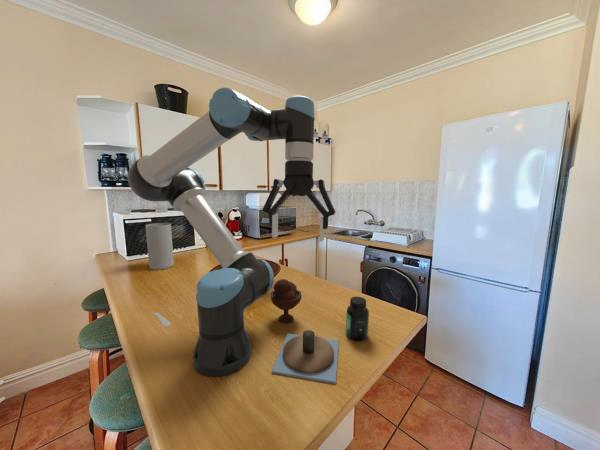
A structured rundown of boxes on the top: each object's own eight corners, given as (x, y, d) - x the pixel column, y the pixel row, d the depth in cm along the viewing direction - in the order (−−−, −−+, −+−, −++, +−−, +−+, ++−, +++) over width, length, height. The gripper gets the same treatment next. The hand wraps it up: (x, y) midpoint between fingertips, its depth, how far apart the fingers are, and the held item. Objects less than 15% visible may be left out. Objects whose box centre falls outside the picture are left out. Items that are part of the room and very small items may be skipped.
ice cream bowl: (298, 329, 79) (298, 286, 76) (266, 325, 81) (265, 283, 79) (304, 313, 89) (304, 274, 87) (275, 310, 91) (275, 272, 89)
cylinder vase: (154, 263, 145) (151, 223, 141) (176, 262, 147) (173, 222, 143) (145, 270, 133) (141, 226, 129) (169, 269, 135) (166, 226, 131)
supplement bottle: (346, 340, 73) (347, 304, 71) (345, 328, 80) (346, 294, 78) (369, 343, 72) (371, 305, 70) (366, 329, 79) (368, 295, 77)
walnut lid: (276, 368, 61) (276, 346, 60) (289, 335, 74) (289, 317, 73) (331, 377, 58) (332, 354, 57) (335, 341, 72) (335, 322, 71)
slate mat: (271, 372, 60) (271, 370, 60) (287, 335, 76) (287, 333, 76) (335, 384, 57) (335, 381, 57) (338, 342, 72) (338, 340, 72)
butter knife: (162, 328, 78) (171, 324, 81) (138, 302, 96) (147, 299, 99) (162, 329, 79) (172, 325, 81) (139, 303, 97) (147, 301, 99)
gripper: (347, 162, 64) (343, 239, 68) (261, 162, 71) (262, 233, 74) (345, 158, 57) (341, 245, 60) (250, 159, 63) (251, 238, 67)
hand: (297, 238), depth 67 cm, fingers open, 13 cm apart
